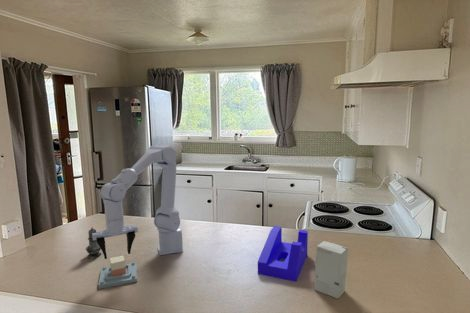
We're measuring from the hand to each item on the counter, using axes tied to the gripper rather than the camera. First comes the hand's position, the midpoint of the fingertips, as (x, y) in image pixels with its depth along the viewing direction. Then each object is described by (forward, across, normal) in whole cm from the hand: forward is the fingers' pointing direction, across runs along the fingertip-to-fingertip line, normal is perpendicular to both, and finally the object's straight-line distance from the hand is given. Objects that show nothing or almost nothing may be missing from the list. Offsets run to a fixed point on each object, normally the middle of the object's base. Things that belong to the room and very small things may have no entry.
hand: (117, 255), depth 107 cm
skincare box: (+8, -58, +42) cm, 72 cm away
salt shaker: (+8, +7, -22) cm, 25 cm away
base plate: (+8, 0, 0) cm, 8 cm away
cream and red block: (+7, 0, 0) cm, 7 cm away
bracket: (+9, -56, +21) cm, 60 cm away
